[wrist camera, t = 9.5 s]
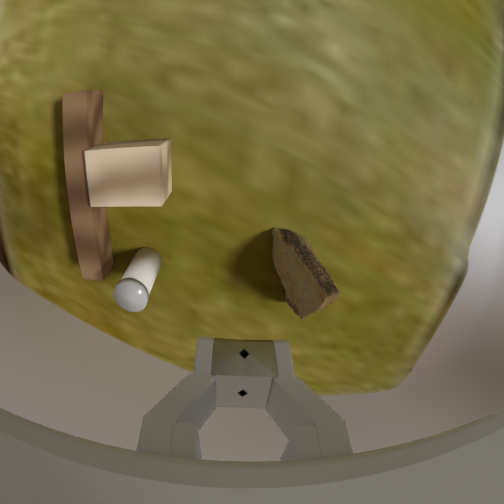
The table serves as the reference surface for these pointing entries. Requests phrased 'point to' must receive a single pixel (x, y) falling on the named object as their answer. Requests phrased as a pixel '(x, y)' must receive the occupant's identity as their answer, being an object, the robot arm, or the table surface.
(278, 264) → the rock
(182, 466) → the robot arm
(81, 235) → the brown wooden bar
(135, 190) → the maple block
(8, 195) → the table surface
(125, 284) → the salt shaker
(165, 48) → the table surface
